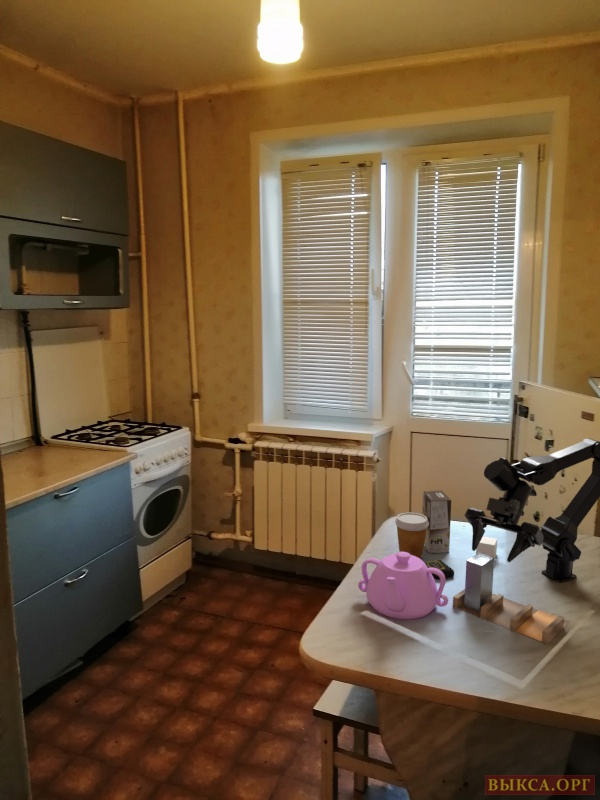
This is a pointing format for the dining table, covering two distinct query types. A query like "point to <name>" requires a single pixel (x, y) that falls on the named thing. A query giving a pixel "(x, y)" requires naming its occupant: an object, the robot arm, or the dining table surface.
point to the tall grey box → (478, 581)
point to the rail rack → (516, 617)
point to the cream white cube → (487, 546)
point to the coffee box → (437, 521)
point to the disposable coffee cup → (411, 533)
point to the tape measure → (442, 567)
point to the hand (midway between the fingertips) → (490, 555)
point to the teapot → (402, 586)
